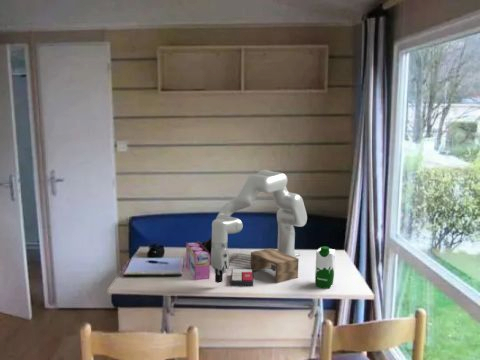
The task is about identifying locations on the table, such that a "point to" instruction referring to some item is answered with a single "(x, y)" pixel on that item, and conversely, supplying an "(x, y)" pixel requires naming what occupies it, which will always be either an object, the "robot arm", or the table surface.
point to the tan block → (275, 263)
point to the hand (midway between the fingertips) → (218, 281)
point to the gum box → (197, 260)
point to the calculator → (242, 277)
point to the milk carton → (324, 267)
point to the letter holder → (208, 246)
